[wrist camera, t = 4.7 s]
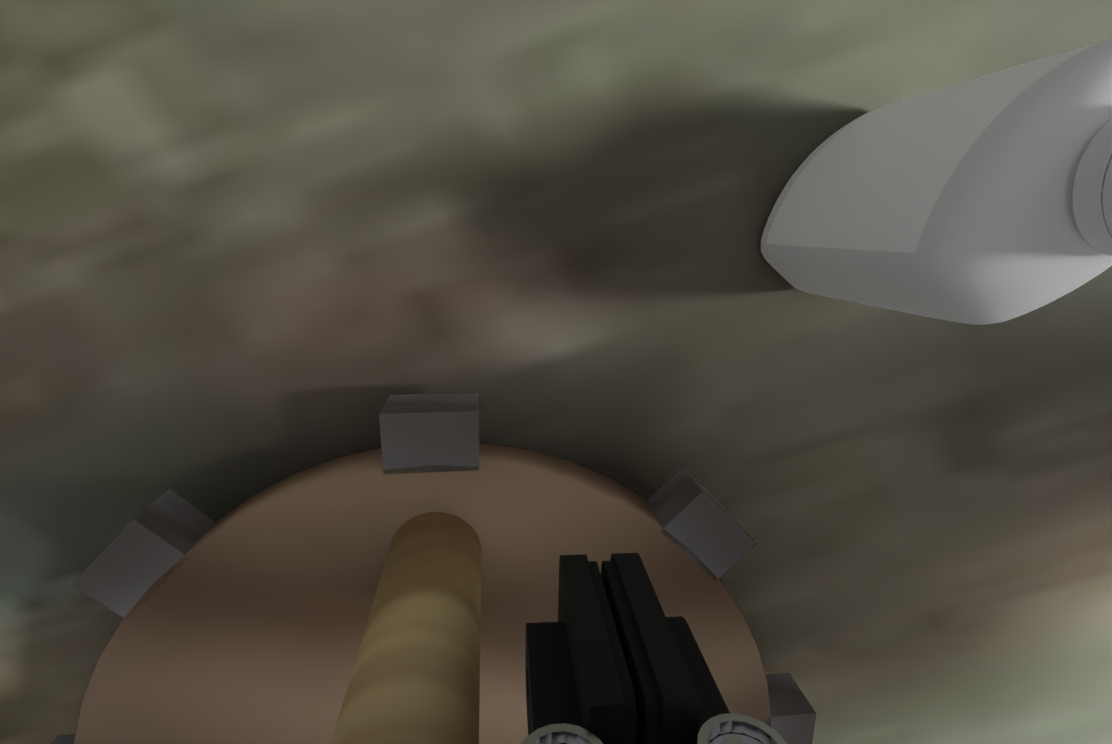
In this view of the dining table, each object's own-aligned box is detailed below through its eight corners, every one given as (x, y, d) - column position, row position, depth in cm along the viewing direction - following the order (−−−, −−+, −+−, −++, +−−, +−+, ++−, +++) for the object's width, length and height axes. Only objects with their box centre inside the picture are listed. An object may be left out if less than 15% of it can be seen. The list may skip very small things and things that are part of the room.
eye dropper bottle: (730, 166, 17) (1219, 46, 6) (903, 95, 17) (1727, -161, 6) (769, 303, 19) (1242, 430, 7) (931, 236, 19) (1665, 252, 7)
